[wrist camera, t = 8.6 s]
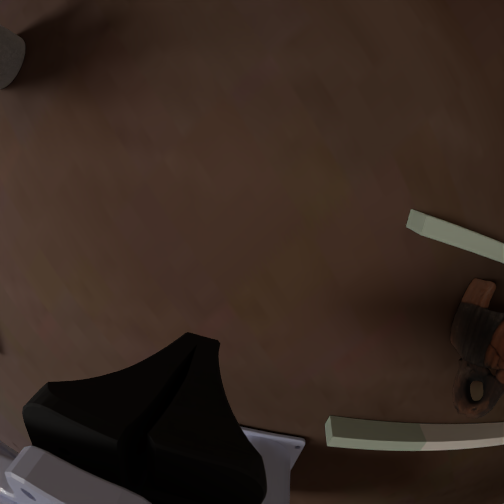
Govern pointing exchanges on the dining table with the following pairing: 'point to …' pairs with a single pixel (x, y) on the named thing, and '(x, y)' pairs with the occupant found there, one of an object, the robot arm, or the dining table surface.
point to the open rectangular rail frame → (417, 434)
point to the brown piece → (478, 349)
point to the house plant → (10, 56)
